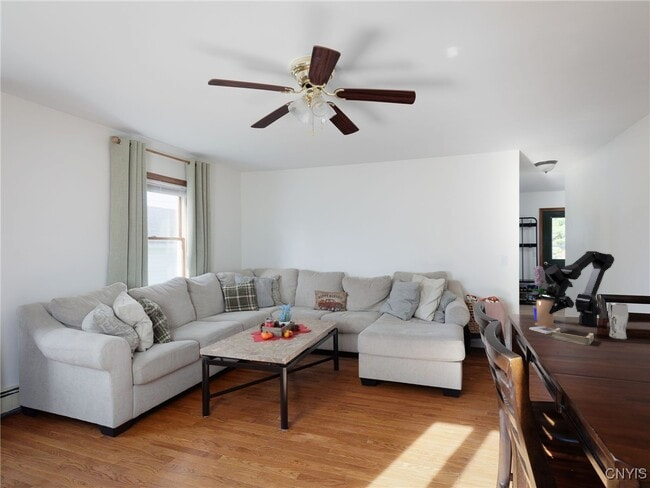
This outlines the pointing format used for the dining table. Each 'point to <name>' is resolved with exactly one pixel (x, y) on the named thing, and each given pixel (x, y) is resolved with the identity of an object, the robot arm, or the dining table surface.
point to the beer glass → (618, 320)
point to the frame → (572, 337)
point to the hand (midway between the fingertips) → (542, 312)
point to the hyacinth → (538, 283)
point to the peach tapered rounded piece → (544, 313)
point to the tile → (542, 329)
